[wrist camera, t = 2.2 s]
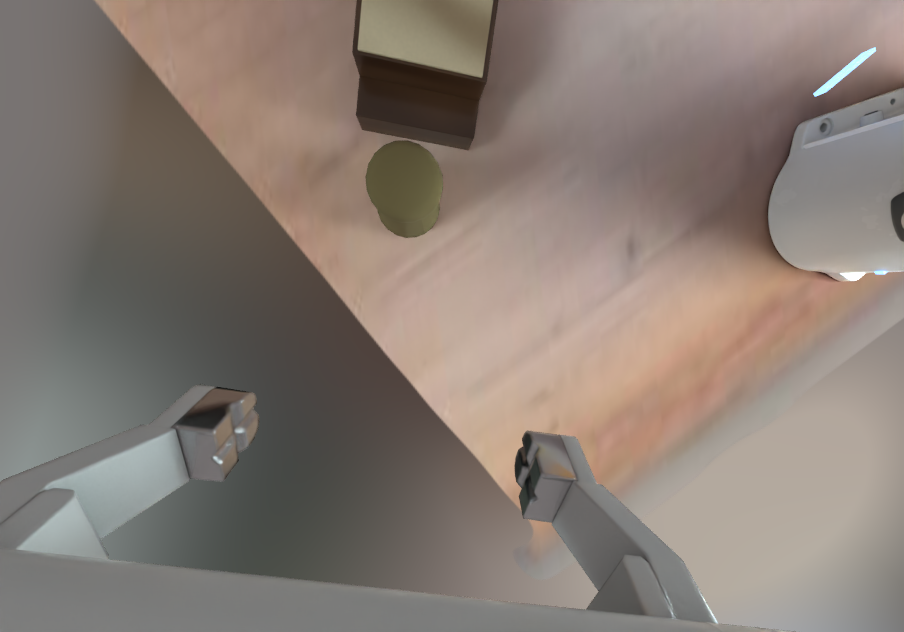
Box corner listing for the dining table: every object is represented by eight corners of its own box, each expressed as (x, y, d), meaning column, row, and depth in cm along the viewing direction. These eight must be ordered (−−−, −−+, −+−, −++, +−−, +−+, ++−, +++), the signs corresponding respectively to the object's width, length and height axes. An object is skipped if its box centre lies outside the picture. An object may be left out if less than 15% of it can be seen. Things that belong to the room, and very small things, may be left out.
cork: (369, 179, 30) (343, 134, 20) (432, 167, 31) (440, 116, 20) (385, 243, 31) (369, 235, 21) (445, 230, 32) (460, 215, 21)
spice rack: (468, 150, 31) (488, 106, 22) (362, 129, 30) (338, 74, 21) (493, -29, 29) (527, -158, 20) (379, -59, 27) (361, -212, 18)
